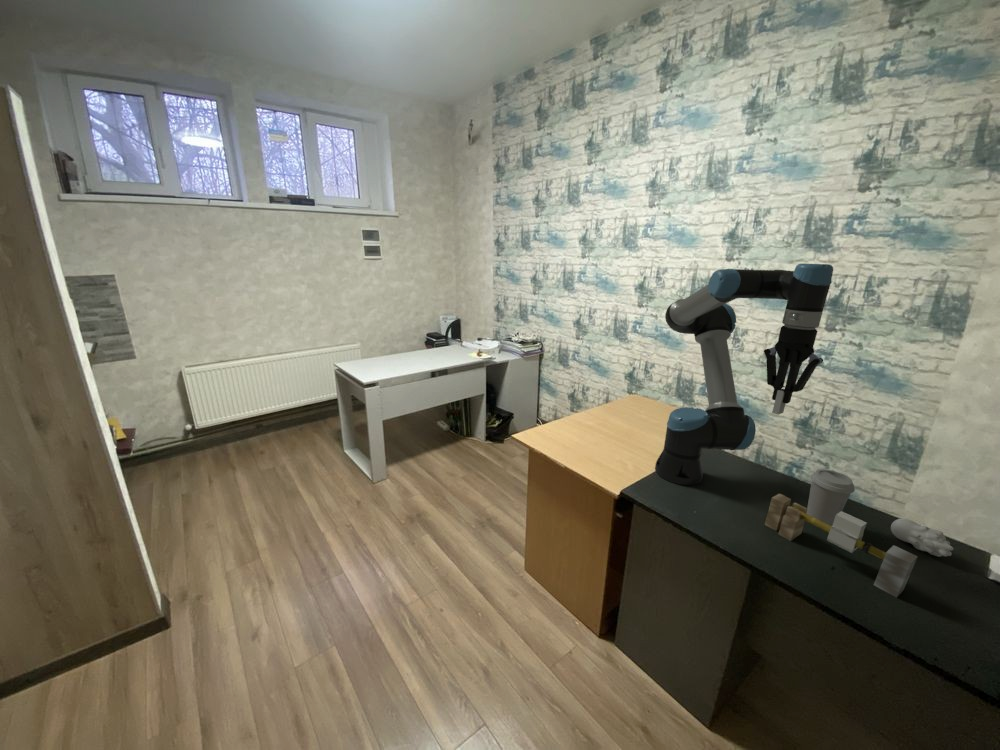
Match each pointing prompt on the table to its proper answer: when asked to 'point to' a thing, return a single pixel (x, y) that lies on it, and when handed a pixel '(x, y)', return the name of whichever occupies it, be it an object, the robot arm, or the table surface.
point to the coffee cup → (828, 494)
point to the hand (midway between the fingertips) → (777, 412)
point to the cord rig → (894, 560)
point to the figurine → (922, 537)
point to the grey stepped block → (846, 531)
